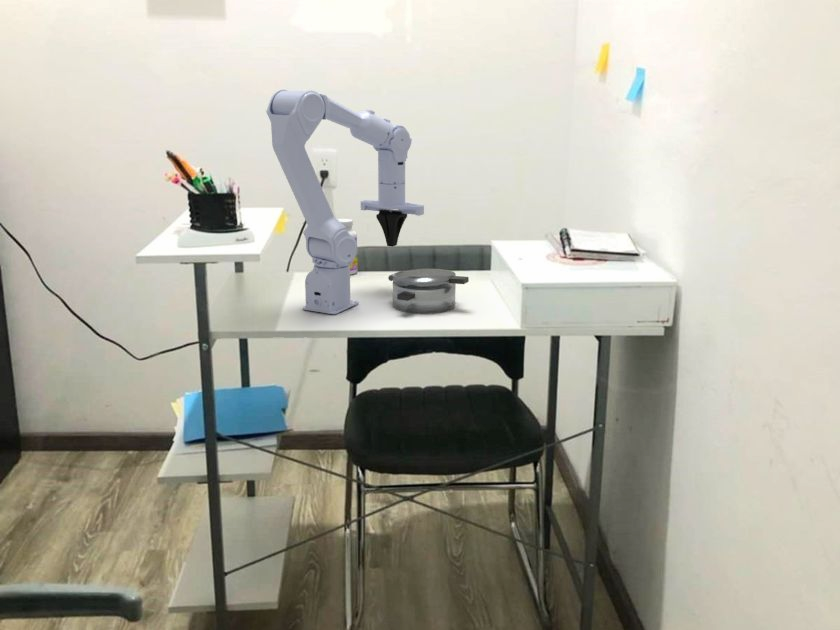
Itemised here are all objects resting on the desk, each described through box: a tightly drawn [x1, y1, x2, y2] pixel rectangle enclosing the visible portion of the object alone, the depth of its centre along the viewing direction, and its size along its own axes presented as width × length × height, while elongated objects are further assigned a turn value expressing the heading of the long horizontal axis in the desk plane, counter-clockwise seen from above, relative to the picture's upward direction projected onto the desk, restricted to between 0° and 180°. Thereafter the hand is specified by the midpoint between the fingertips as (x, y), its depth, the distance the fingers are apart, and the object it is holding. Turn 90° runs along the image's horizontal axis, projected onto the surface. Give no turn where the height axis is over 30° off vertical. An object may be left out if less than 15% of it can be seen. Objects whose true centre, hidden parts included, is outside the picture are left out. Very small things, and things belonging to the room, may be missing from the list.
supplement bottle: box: [336, 218, 358, 276], centre depth 194 cm, size 7×7×13 cm
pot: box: [392, 282, 457, 315], centre depth 169 cm, size 19×13×5 cm
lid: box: [387, 268, 469, 287], centre depth 167 cm, size 13×17×1 cm
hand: (391, 245), depth 176 cm, fingers closed
